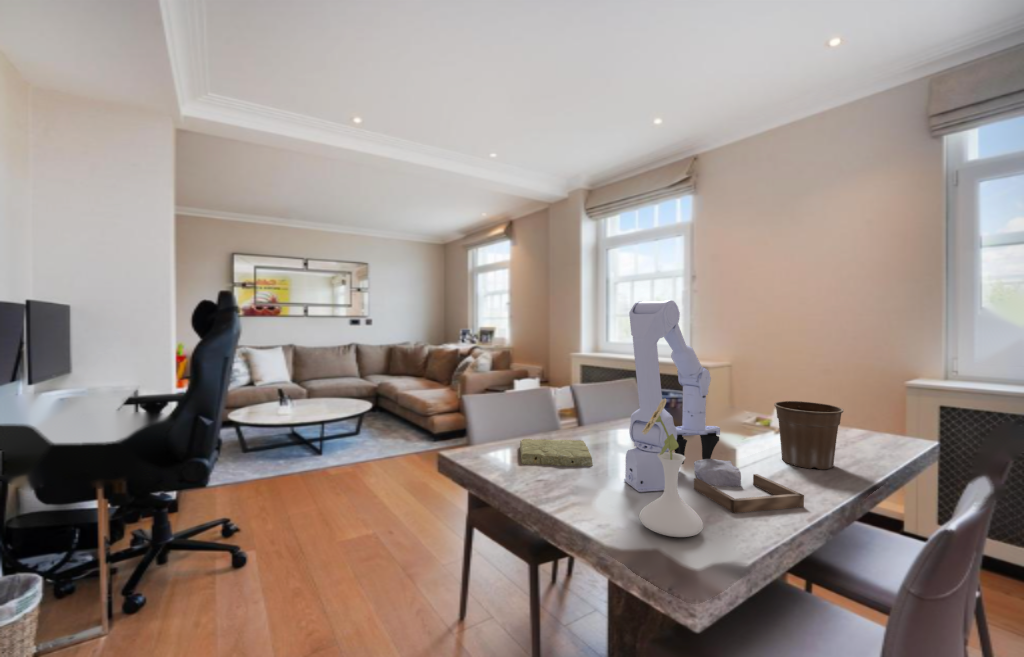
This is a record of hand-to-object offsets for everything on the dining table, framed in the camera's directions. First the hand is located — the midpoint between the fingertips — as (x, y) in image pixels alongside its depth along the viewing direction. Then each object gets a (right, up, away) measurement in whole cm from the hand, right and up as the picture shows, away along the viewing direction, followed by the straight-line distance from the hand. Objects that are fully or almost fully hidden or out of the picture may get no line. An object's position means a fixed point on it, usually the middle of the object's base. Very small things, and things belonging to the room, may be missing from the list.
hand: (693, 462), depth 119 cm
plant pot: (+34, -2, +6) cm, 35 cm away
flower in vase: (-19, -2, -36) cm, 40 cm away
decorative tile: (-36, -2, +11) cm, 38 cm away
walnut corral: (+4, -2, -19) cm, 20 cm away
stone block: (+3, -3, -6) cm, 7 cm away
